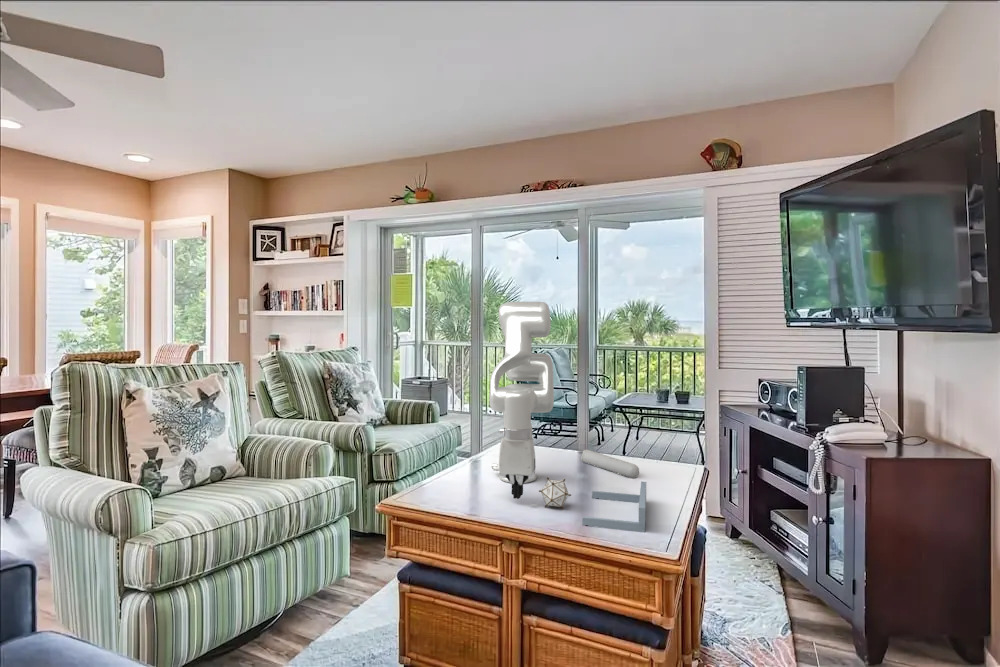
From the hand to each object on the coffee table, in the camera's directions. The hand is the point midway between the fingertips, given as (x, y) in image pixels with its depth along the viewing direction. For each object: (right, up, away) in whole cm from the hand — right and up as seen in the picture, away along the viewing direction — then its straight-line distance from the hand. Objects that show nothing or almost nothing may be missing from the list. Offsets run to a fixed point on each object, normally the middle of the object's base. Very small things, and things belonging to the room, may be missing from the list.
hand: (517, 497), depth 153 cm
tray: (+27, -2, -8) cm, 28 cm away
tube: (+34, -2, +35) cm, 49 cm away
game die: (+11, -2, -3) cm, 11 cm away
